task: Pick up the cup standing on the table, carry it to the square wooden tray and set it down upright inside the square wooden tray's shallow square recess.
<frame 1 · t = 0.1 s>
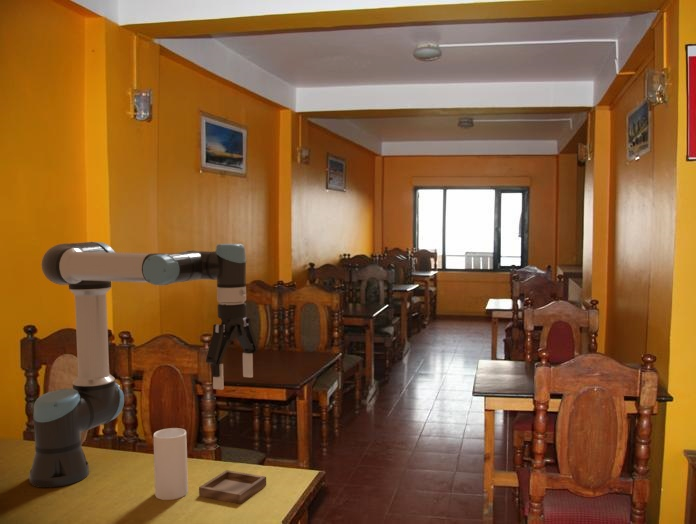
hand: (233, 382, 173), 28 cm above the table, fingers open, 13 cm apart
square wooden tray: (233, 490, 171), on the table
cup: (171, 494, 170), on the table
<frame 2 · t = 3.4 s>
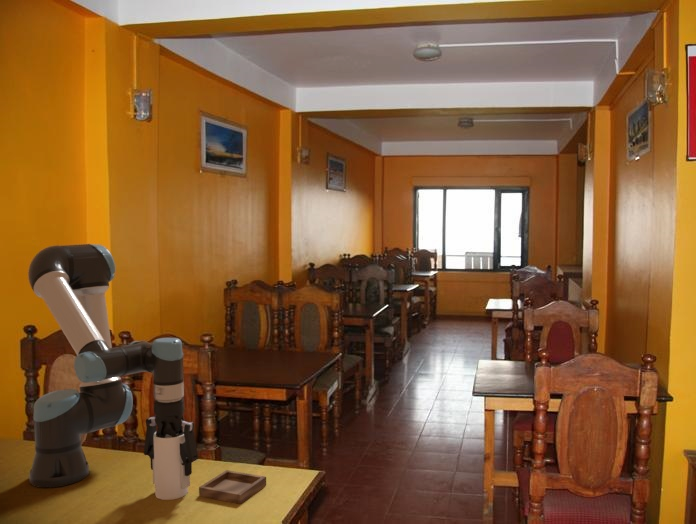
hand: (171, 484, 170), 2 cm above the table, fingers closed on cup, 8 cm apart
cup: (171, 494, 170), on the table, touching gripper
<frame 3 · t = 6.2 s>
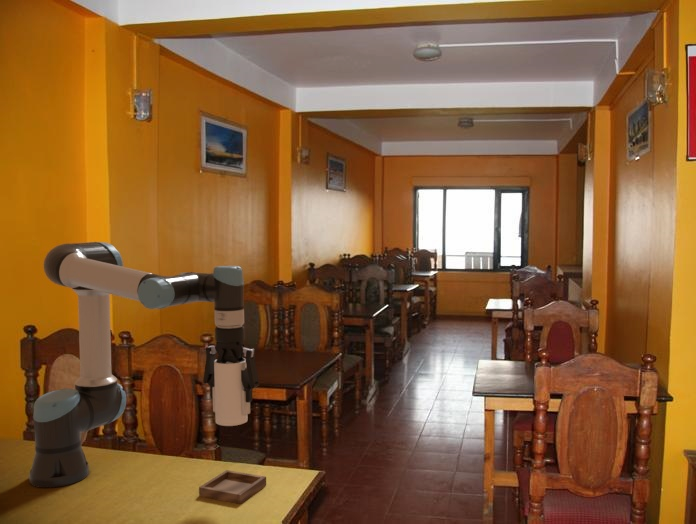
hand: (231, 412, 170), 21 cm above the table, fingers closed on cup, 8 cm apart
cup: (231, 421, 170), point 18 cm above the table, touching gripper
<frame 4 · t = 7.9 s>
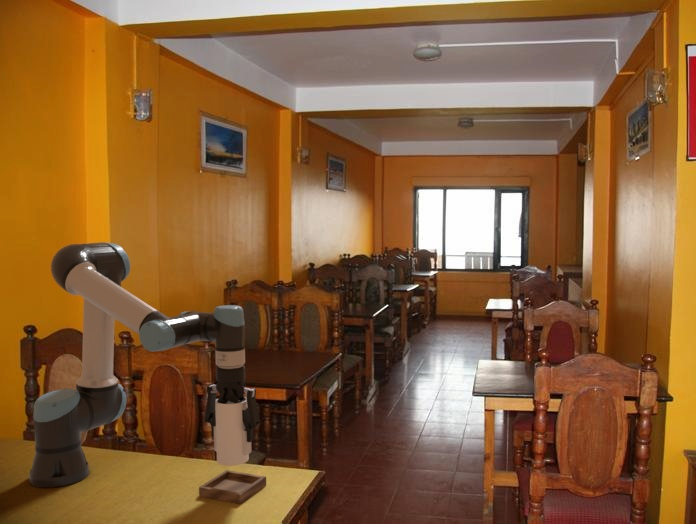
hand: (232, 451, 171), 10 cm above the table, fingers closed on cup, 8 cm apart
cup: (232, 460, 171), point 8 cm above the table, touching gripper
when the fingers open (5 cm above the table, at t = 9.4 s): cup drops 2 cm, resting on square wooden tray.
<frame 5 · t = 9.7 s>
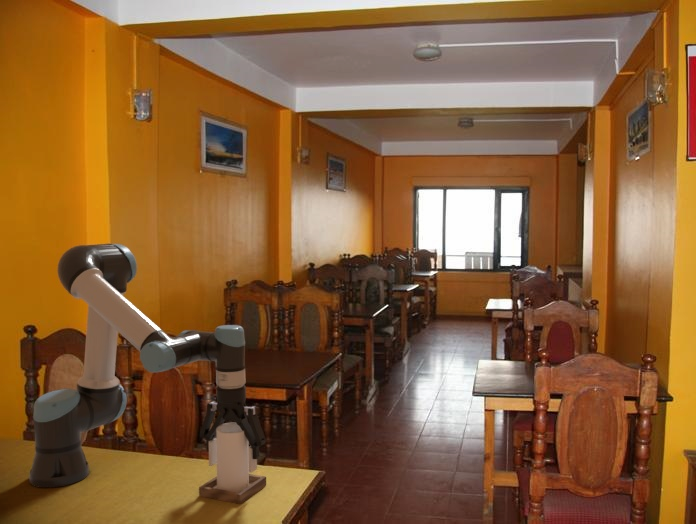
hand: (232, 467, 171), 6 cm above the table, fingers open, 11 cm apart
cup: (233, 487, 171), point 1 cm above the table, touching square wooden tray
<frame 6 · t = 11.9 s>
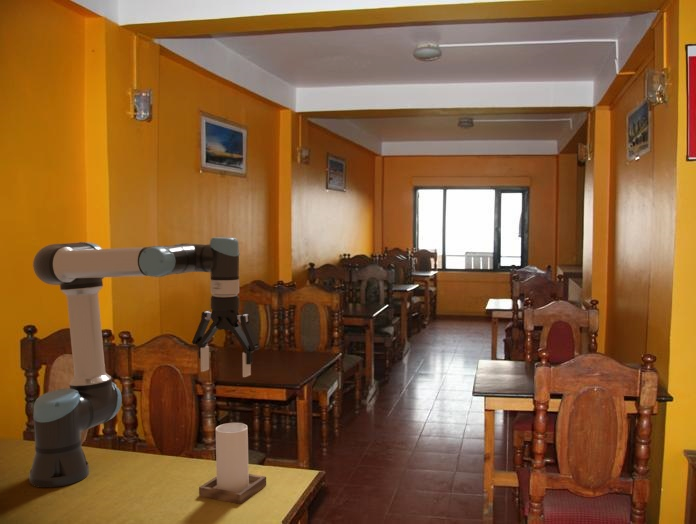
hand: (225, 373, 176), 29 cm above the table, fingers open, 13 cm apart
nothing on the table moved.
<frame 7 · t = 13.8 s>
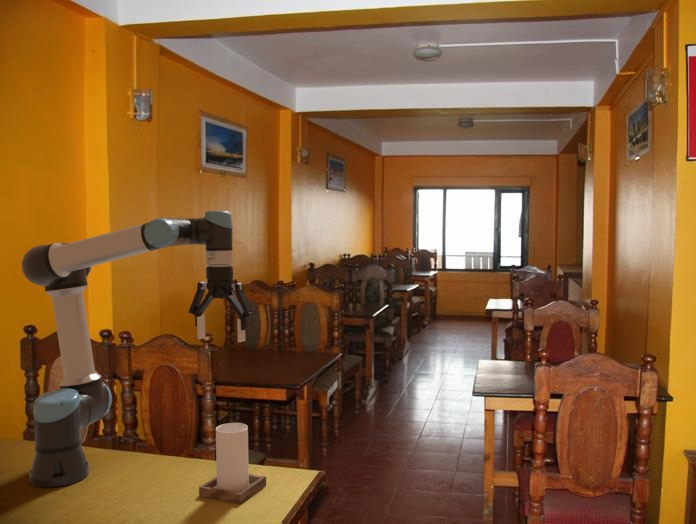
hand: (221, 340, 186), 37 cm above the table, fingers open, 13 cm apart
nothing on the table moved.
at the end: cup 0.1 cm off-centre on the square wooden tray, point 0.6 cm above the square wooden tray's base; cup tilted 0°; the gripper is holding nothing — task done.
